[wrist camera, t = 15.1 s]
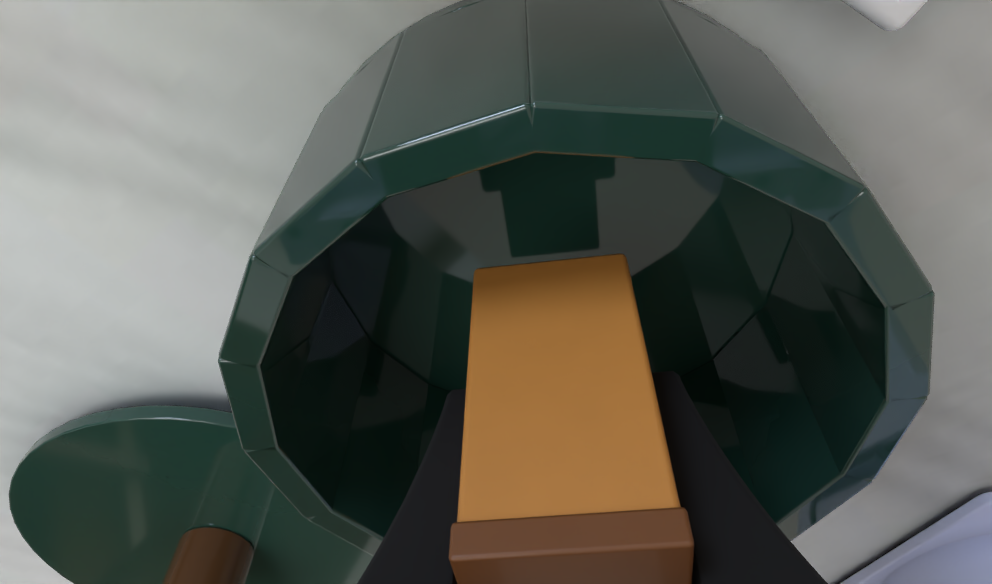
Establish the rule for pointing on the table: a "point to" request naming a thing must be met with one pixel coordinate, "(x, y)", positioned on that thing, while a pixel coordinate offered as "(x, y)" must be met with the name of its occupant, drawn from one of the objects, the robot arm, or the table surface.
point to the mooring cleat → (887, 11)
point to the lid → (166, 506)
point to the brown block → (564, 435)
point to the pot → (574, 253)
